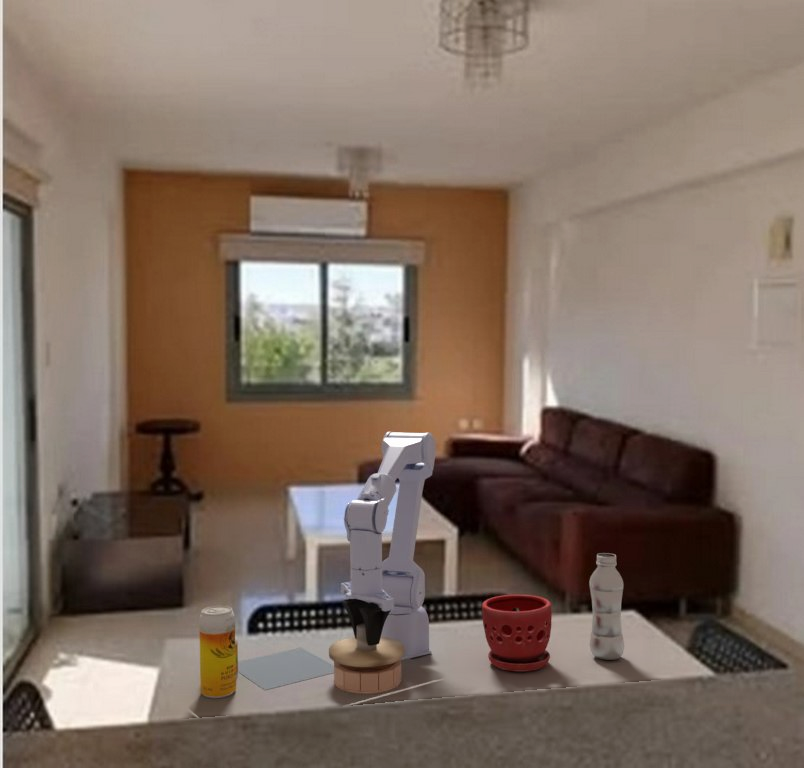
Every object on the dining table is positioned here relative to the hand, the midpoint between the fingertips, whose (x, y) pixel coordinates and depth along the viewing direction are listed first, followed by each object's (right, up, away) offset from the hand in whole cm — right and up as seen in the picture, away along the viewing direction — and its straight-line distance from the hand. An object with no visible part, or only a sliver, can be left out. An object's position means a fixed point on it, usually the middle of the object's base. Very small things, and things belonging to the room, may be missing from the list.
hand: (367, 641), depth 163 cm
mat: (-16, -7, +7) cm, 19 cm away
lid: (0, -2, 0) cm, 2 cm away
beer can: (-26, -8, -4) cm, 28 cm away
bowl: (0, -8, 0) cm, 8 cm away
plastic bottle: (+46, -7, +12) cm, 48 cm away
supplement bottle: (-27, -8, +4) cm, 28 cm away
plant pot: (+28, -7, +9) cm, 30 cm away
